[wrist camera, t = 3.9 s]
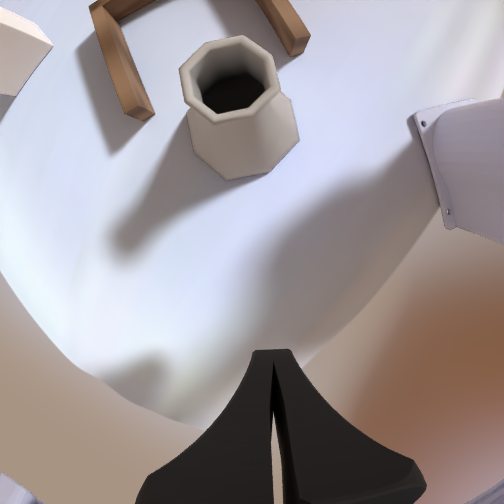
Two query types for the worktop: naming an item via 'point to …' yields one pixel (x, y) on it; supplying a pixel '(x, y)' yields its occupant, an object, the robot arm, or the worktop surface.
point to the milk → (19, 51)
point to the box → (123, 67)
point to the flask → (237, 108)
